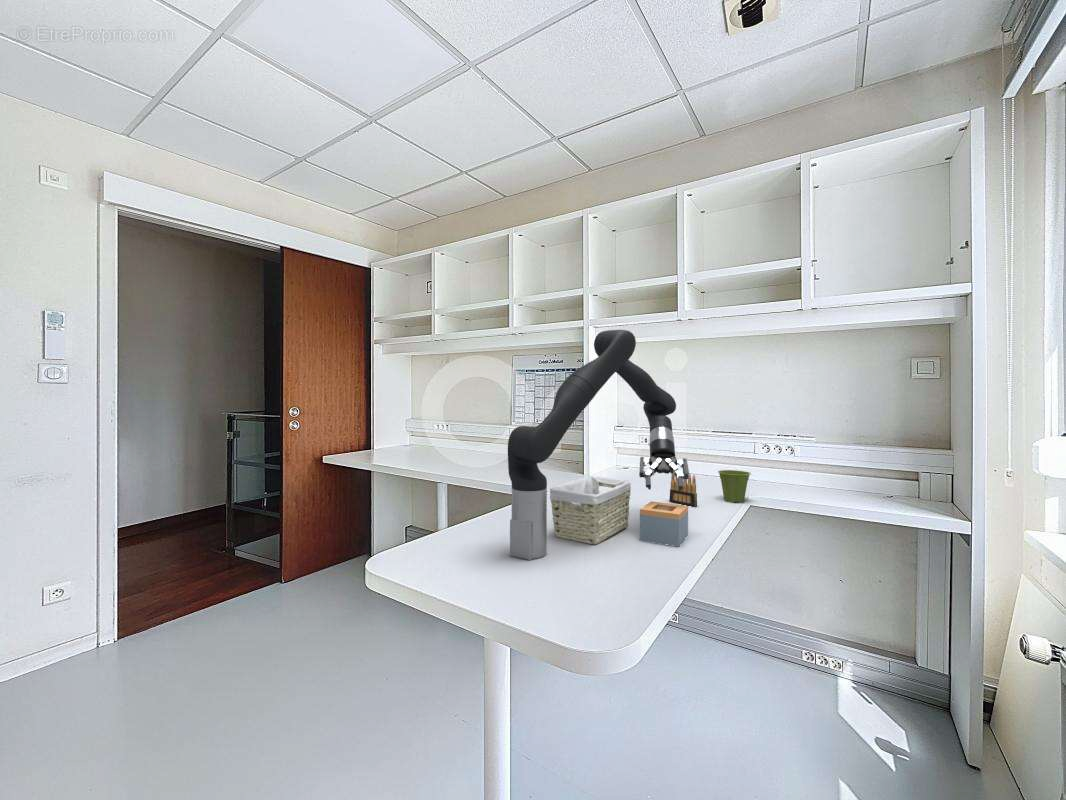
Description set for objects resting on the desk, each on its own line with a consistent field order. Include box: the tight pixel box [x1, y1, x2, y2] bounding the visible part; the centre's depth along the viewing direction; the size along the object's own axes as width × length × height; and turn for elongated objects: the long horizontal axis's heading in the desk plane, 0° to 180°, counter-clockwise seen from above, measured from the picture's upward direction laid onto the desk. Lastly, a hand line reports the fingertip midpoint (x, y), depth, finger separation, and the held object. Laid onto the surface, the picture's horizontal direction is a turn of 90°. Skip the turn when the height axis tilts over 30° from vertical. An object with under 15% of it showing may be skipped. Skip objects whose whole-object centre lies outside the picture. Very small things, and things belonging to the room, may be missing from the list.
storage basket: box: [549, 476, 632, 545], centre depth 143 cm, size 24×16×15 cm
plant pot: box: [717, 469, 752, 503], centre depth 184 cm, size 12×12×11 cm
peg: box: [657, 506, 671, 511], centre depth 137 cm, size 4×4×9 cm
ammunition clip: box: [668, 473, 698, 508], centre depth 178 cm, size 11×2×12 cm, turn 41°
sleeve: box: [639, 500, 689, 547], centre depth 136 cm, size 11×11×9 cm
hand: (664, 488), depth 137 cm, fingers open, 8 cm apart
